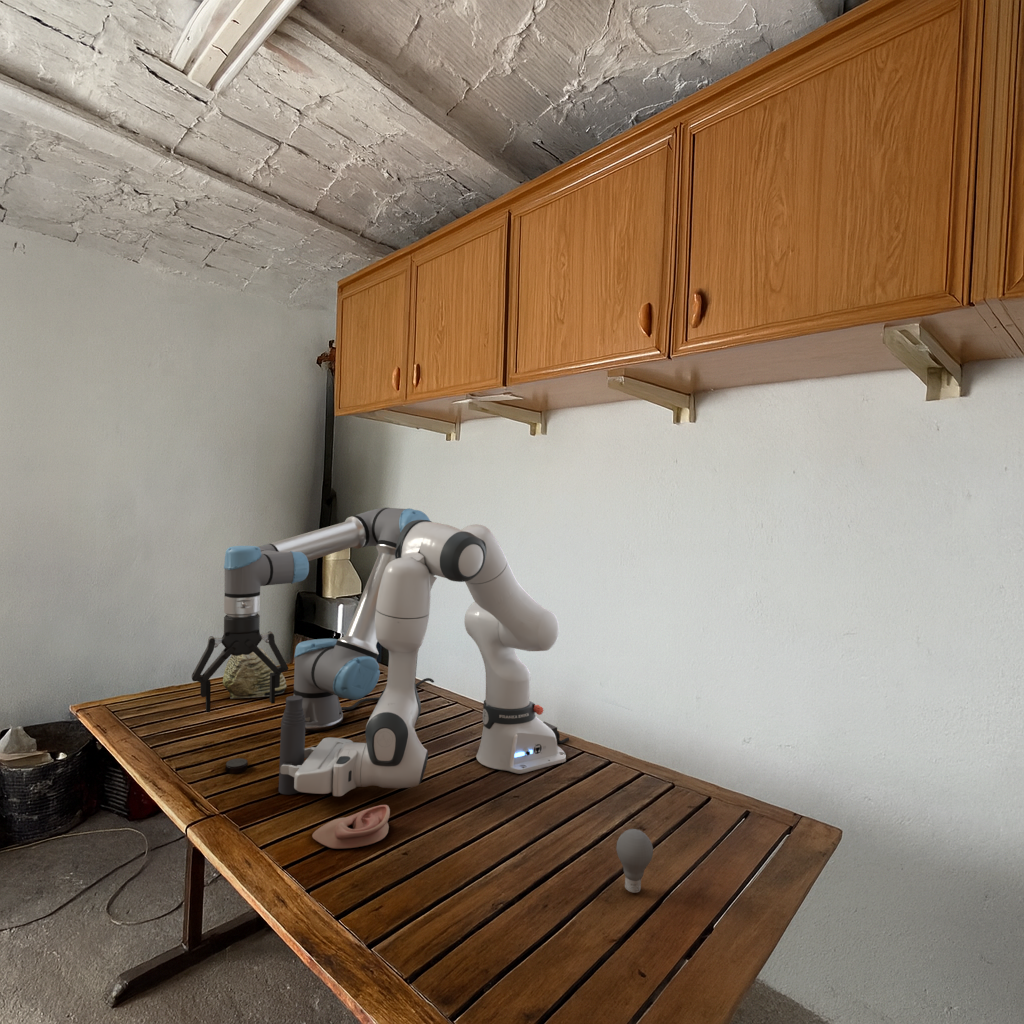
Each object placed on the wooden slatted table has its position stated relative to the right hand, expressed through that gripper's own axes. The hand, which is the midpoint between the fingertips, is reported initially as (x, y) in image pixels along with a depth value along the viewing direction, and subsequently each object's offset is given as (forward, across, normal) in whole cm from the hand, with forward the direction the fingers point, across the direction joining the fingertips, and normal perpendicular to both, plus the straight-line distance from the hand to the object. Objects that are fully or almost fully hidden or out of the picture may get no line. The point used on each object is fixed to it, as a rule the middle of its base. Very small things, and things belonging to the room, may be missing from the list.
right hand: (287, 761), depth 136 cm
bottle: (-1, 0, +6) cm, 6 cm away
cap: (+15, -8, +5) cm, 18 cm away
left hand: (+14, -9, -8) cm, 19 cm away
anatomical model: (-18, +17, +6) cm, 26 cm away
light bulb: (-69, +30, +6) cm, 76 cm away
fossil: (+32, -61, +6) cm, 70 cm away
